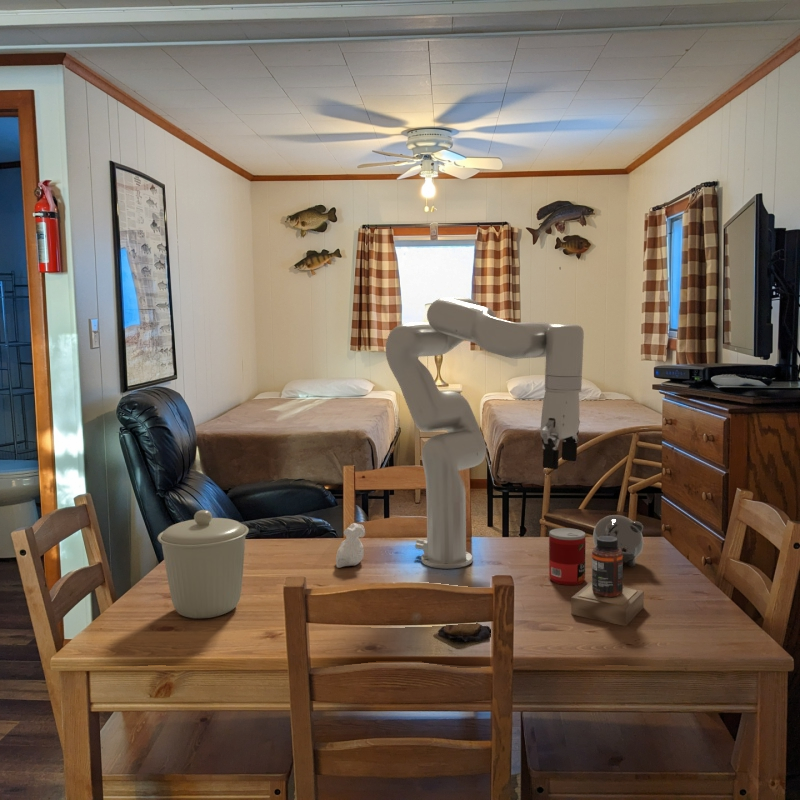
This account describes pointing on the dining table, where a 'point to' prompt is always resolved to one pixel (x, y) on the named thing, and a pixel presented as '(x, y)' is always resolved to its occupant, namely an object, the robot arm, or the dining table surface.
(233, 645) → the dining table surface
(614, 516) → the piggy bank
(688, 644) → the dining table surface
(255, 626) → the dining table surface
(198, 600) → the canister
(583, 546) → the canned food
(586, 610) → the base
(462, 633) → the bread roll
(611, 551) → the supplement bottle
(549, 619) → the dining table surface
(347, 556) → the bust
